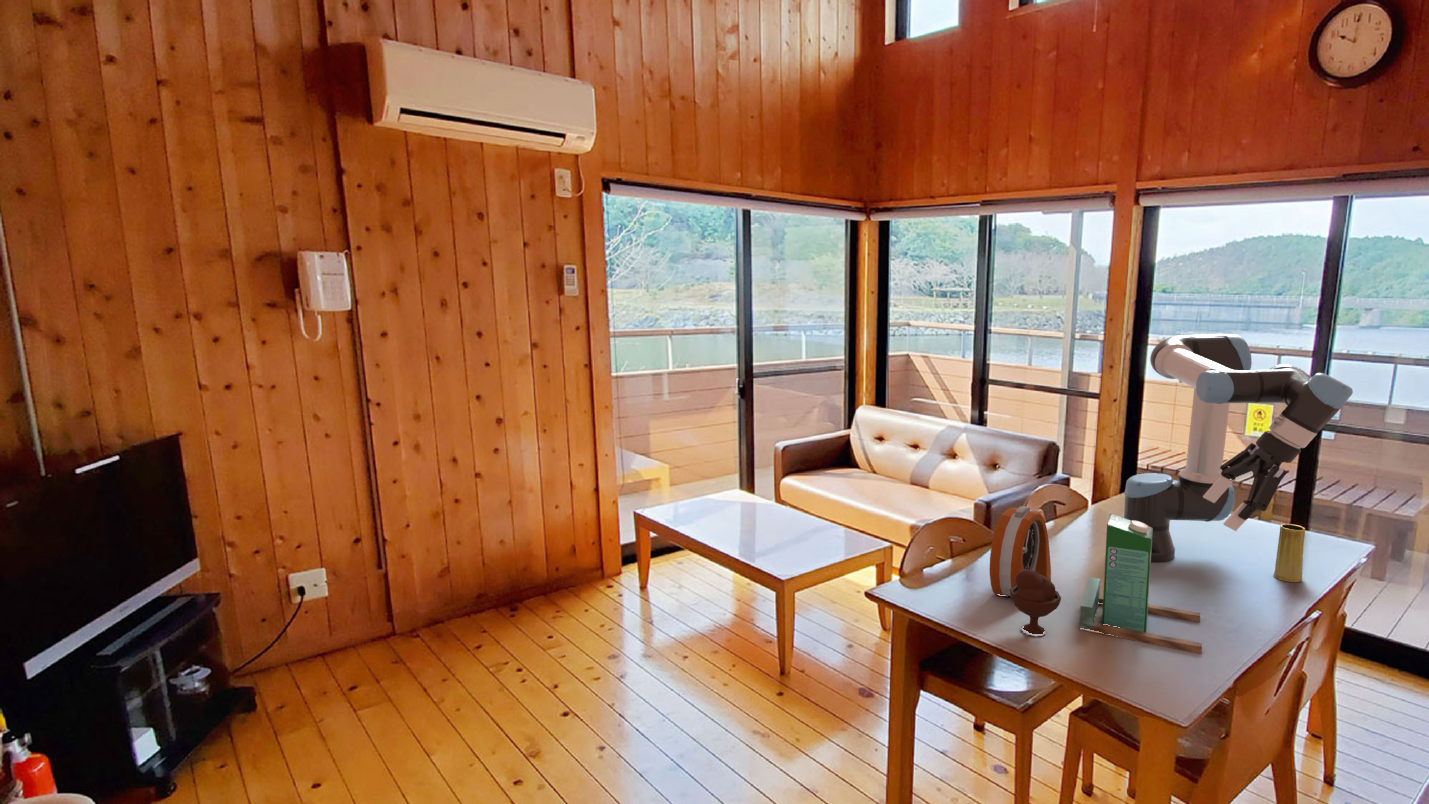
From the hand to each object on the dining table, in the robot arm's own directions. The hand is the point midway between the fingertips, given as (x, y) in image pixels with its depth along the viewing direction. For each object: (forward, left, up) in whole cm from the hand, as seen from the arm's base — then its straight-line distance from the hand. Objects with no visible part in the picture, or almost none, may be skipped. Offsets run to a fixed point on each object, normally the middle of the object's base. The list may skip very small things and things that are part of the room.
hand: (1218, 513), depth 169 cm
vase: (-4, +44, -27) cm, 52 cm away
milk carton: (-11, -15, -27) cm, 33 cm away
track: (-8, -13, -27) cm, 31 cm away
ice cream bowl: (-19, -37, -27) cm, 50 cm away
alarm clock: (-36, -20, -27) cm, 50 cm away
